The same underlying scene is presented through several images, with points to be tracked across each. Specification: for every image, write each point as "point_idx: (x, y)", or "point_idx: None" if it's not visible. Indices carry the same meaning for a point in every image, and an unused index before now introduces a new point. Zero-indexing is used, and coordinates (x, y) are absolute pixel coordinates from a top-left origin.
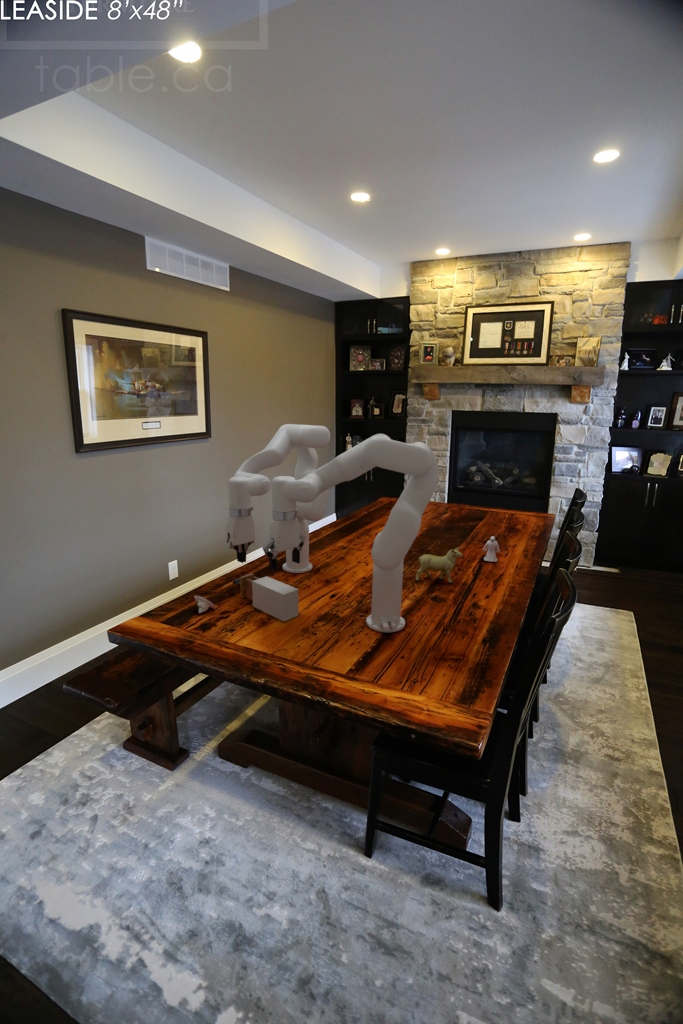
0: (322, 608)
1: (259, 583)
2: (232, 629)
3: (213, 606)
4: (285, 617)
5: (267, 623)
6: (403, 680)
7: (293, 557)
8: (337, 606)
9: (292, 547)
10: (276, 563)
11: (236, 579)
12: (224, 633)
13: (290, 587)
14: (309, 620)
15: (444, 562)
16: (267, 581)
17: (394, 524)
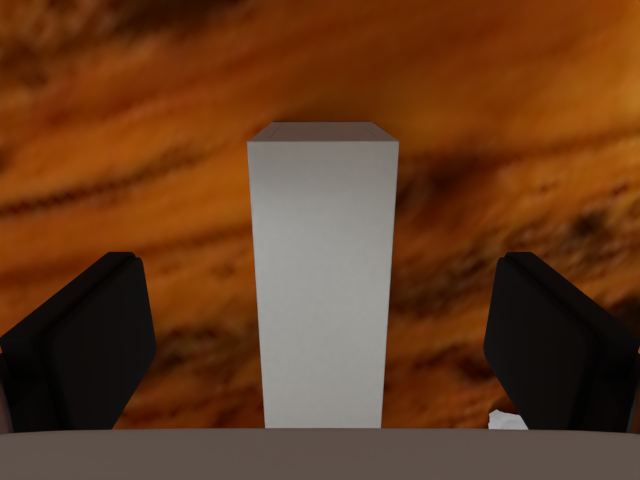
0: (115, 93)
1: (375, 389)
2: (580, 231)
3: (518, 418)
4: (364, 123)
5: (439, 166)
6: None
7: (129, 367)
8: (26, 48)
9: (166, 443)
10: (567, 294)
11: None
12: (629, 225)
13: (270, 209)
14: (265, 31)
15: None
16: (318, 381)
17: None
